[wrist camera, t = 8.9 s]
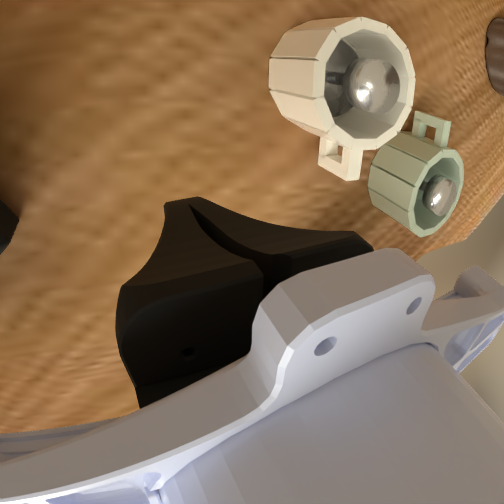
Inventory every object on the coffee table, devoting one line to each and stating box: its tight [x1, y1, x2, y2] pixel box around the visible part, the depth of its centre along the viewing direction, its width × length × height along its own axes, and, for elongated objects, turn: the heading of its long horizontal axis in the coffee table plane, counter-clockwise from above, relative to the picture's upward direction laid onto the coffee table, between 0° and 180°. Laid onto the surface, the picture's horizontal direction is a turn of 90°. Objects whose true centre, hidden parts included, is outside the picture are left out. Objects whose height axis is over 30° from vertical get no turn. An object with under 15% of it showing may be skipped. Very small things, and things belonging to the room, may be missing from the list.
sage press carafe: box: [367, 110, 464, 237], centre depth 27 cm, size 12×9×6 cm
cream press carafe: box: [269, 17, 416, 181], centre depth 20 cm, size 12×9×6 cm
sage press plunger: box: [418, 174, 457, 216], centre depth 28 cm, size 6×6×6 cm
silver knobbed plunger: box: [324, 40, 400, 117], centre depth 19 cm, size 6×6×6 cm
